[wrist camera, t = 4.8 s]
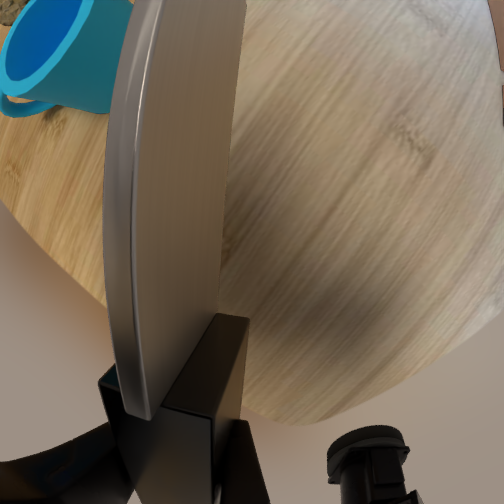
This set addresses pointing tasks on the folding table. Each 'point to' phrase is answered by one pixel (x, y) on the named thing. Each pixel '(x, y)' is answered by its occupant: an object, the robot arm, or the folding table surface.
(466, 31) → the folding table surface
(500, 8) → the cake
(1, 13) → the mineral specimen
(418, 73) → the folding table surface
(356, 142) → the folding table surface
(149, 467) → the knife
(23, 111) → the mug
